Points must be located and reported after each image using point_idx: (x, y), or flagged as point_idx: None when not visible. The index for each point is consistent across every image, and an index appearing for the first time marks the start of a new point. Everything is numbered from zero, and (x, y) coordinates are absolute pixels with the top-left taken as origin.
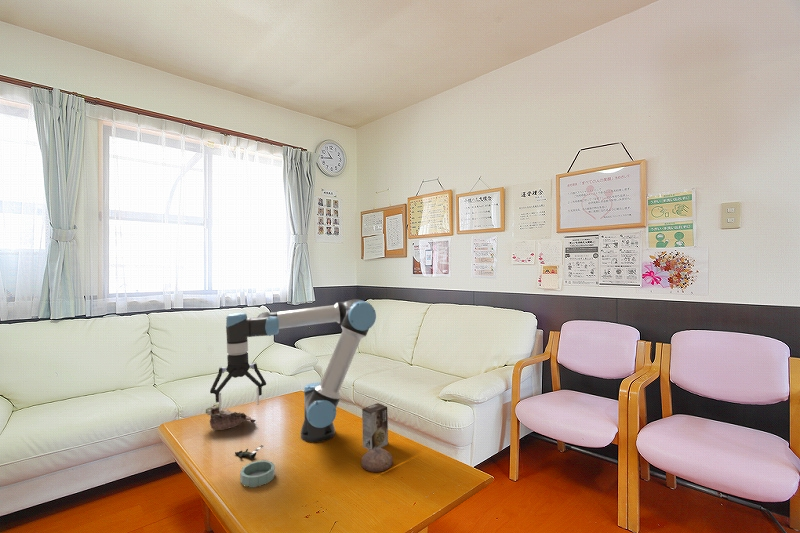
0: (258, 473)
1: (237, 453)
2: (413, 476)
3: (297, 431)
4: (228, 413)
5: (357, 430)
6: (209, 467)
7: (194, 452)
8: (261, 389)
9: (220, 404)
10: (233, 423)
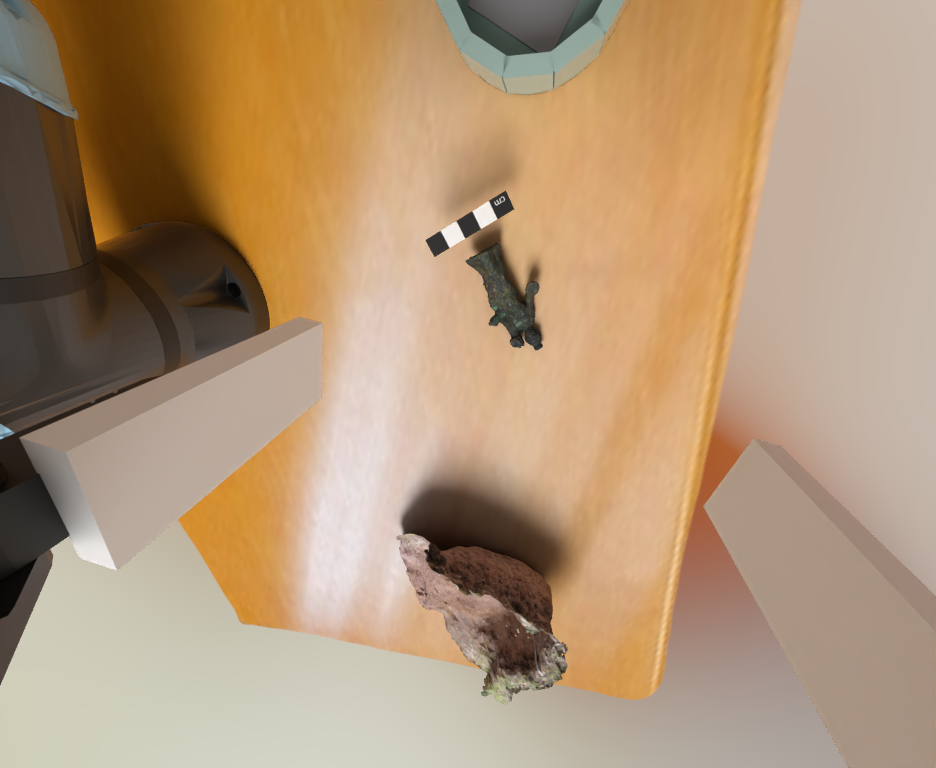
0: (520, 15)
1: (534, 333)
2: None
3: None
4: (466, 633)
5: None
6: (677, 301)
7: (663, 474)
8: (41, 423)
9: (831, 511)
10: (477, 555)
